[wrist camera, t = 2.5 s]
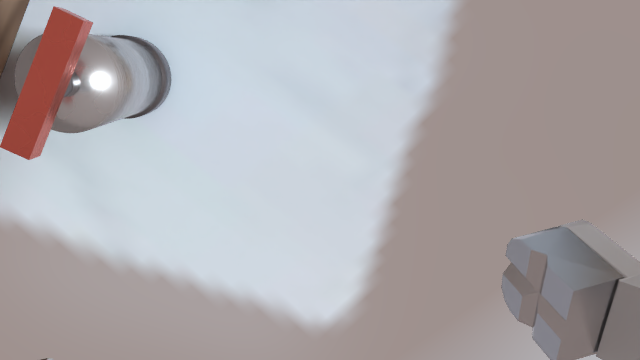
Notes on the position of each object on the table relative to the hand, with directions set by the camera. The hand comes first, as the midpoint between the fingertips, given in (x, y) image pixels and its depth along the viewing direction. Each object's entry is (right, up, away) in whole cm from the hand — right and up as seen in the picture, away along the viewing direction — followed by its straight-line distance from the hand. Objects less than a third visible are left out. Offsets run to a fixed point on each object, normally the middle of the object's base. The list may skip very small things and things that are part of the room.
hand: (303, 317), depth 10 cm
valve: (-11, +9, +24) cm, 28 cm away
